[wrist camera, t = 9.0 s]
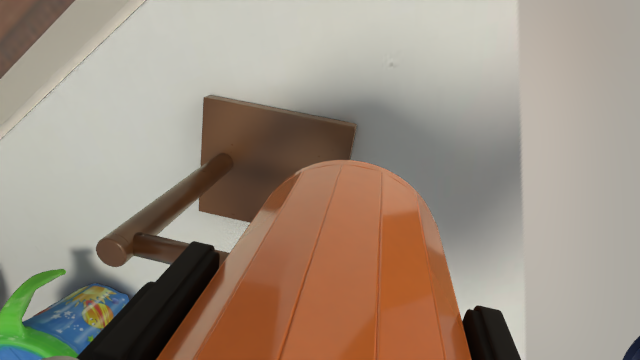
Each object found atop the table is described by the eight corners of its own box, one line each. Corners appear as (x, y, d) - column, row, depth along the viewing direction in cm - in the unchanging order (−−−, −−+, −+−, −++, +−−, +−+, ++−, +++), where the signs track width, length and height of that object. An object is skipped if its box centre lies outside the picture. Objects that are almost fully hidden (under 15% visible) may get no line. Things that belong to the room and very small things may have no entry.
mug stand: (357, 123, 30) (329, 206, 16) (334, 234, 34) (296, 380, 20) (209, 94, 31) (62, 147, 17) (204, 205, 35) (80, 323, 21)
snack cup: (44, 244, 40) (-63, 311, 30) (137, 247, 38) (54, 319, 28) (85, 362, 45) (6, 449, 36) (169, 369, 43) (108, 463, 34)
